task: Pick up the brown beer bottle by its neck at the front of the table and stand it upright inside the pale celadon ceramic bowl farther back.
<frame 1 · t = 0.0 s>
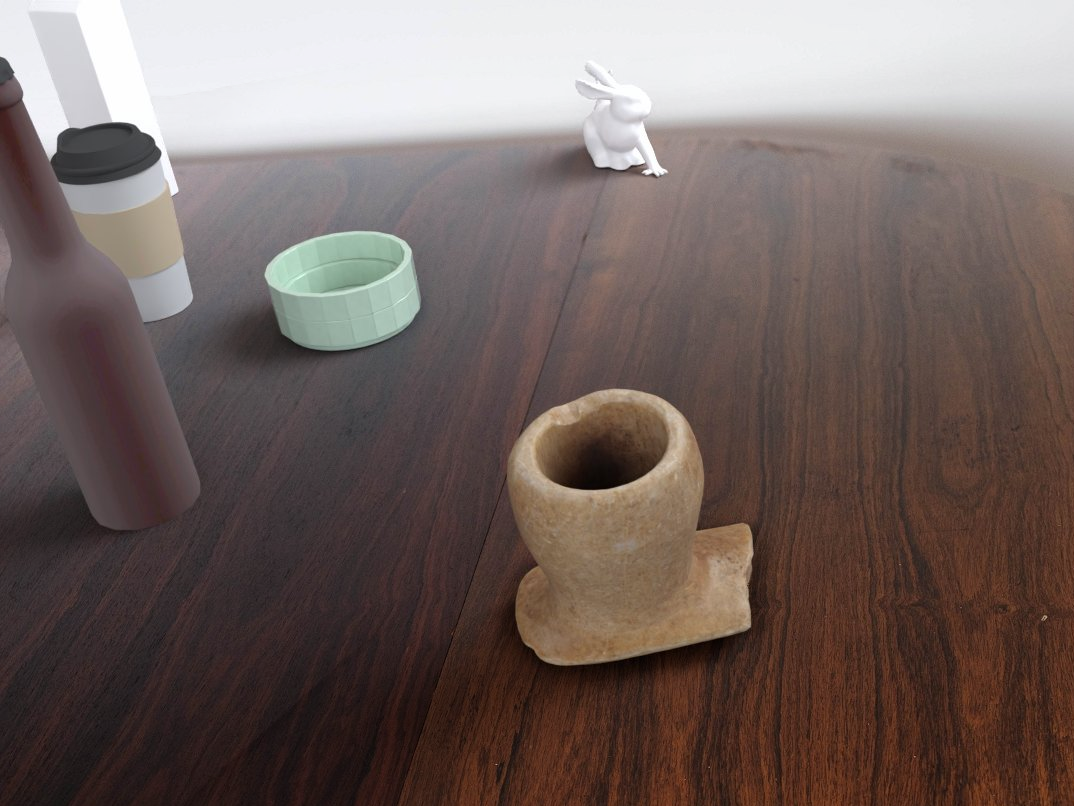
beer bottle: (155, 520, 91), on the table
stone cup: (645, 629, 78), on the table
rabbit figurine: (612, 165, 131), on the table
milk: (140, 202, 135), on the table
coffee cup: (156, 306, 116), on the table
bowl: (351, 318, 111), on the table
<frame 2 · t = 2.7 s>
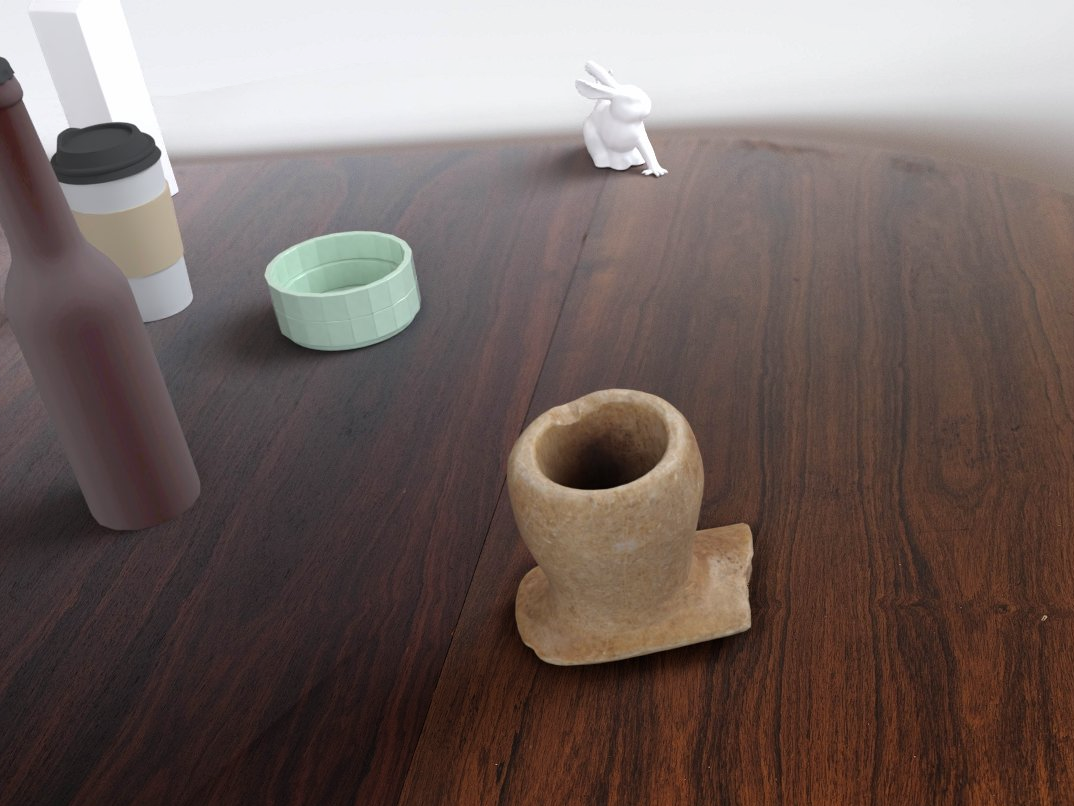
nothing on the table moved.
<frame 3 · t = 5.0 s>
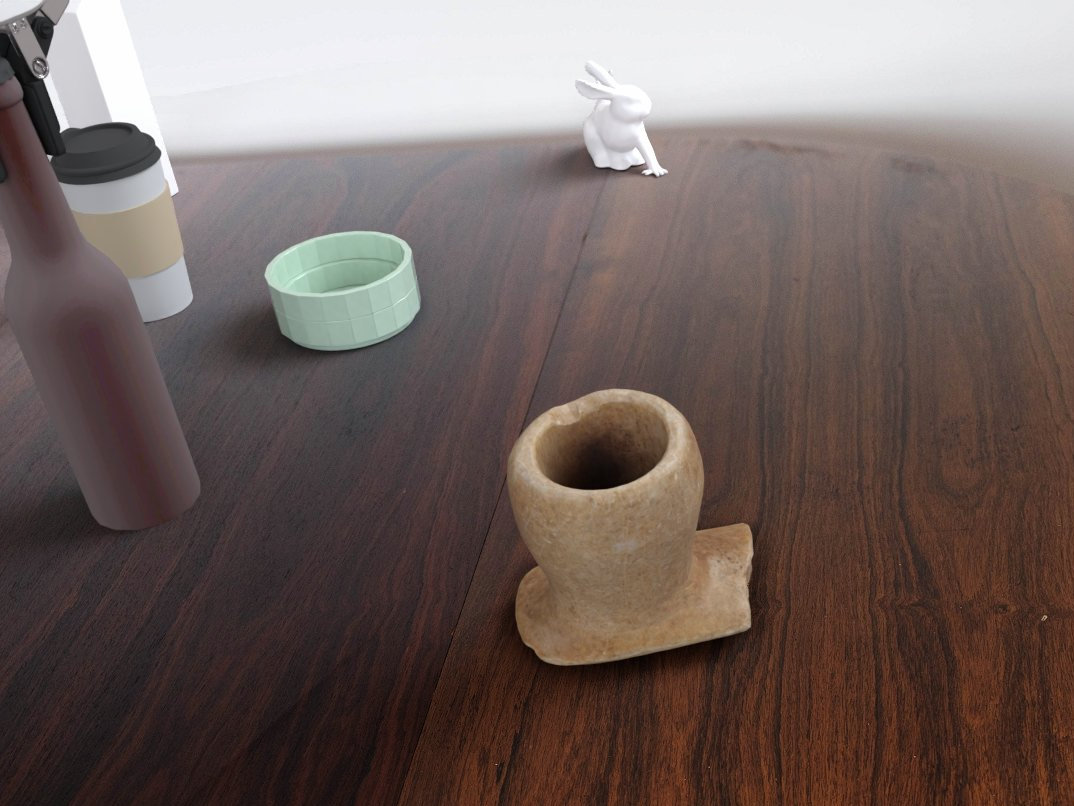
hand: (15, 162, 74), 25 cm above the table, tool pointing down, fingers closed on beer bottle, 3 cm apart
beer bottle: (155, 520, 91), on the table, touching gripper
everything else where it was.
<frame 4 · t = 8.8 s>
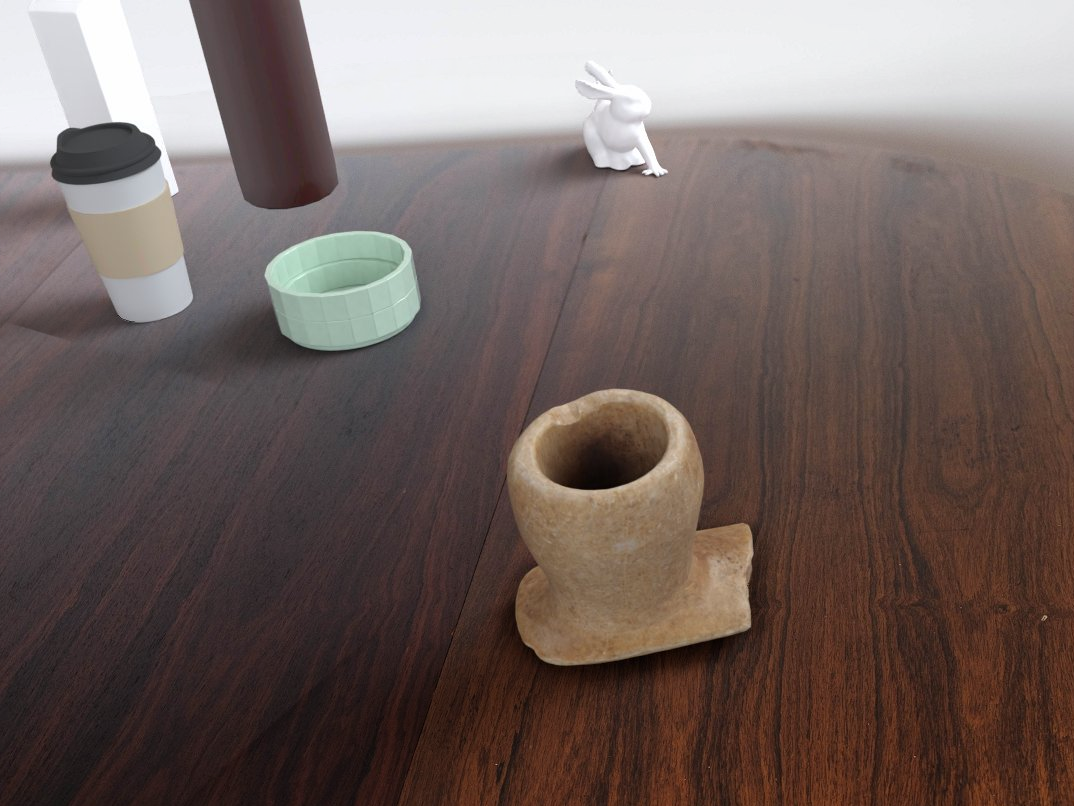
beer bottle: (292, 194, 100), point 12 cm above the table, touching gripper
everything else where it was.
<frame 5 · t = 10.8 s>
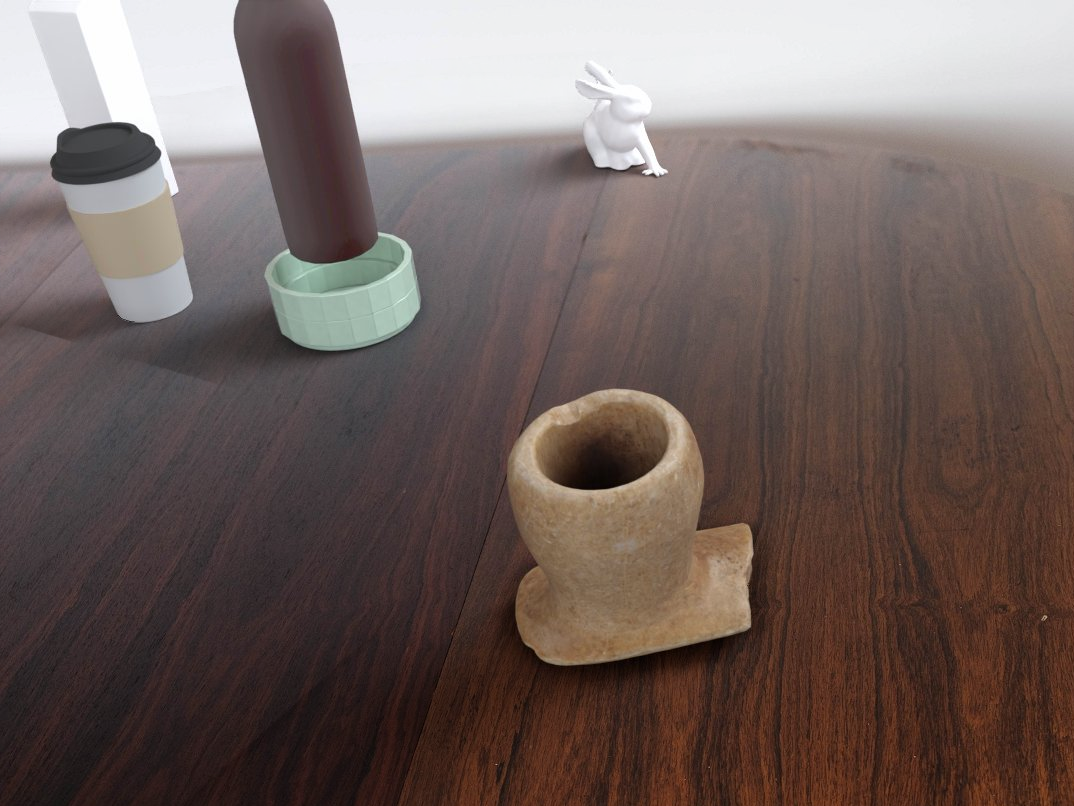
beer bottle: (335, 248, 107), point 6 cm above the table, touching gripper
everything else where it was.
when the fingers open (25 cm above the table, at t = 12.7 s): beer bottle stays where it is, resting on bowl.
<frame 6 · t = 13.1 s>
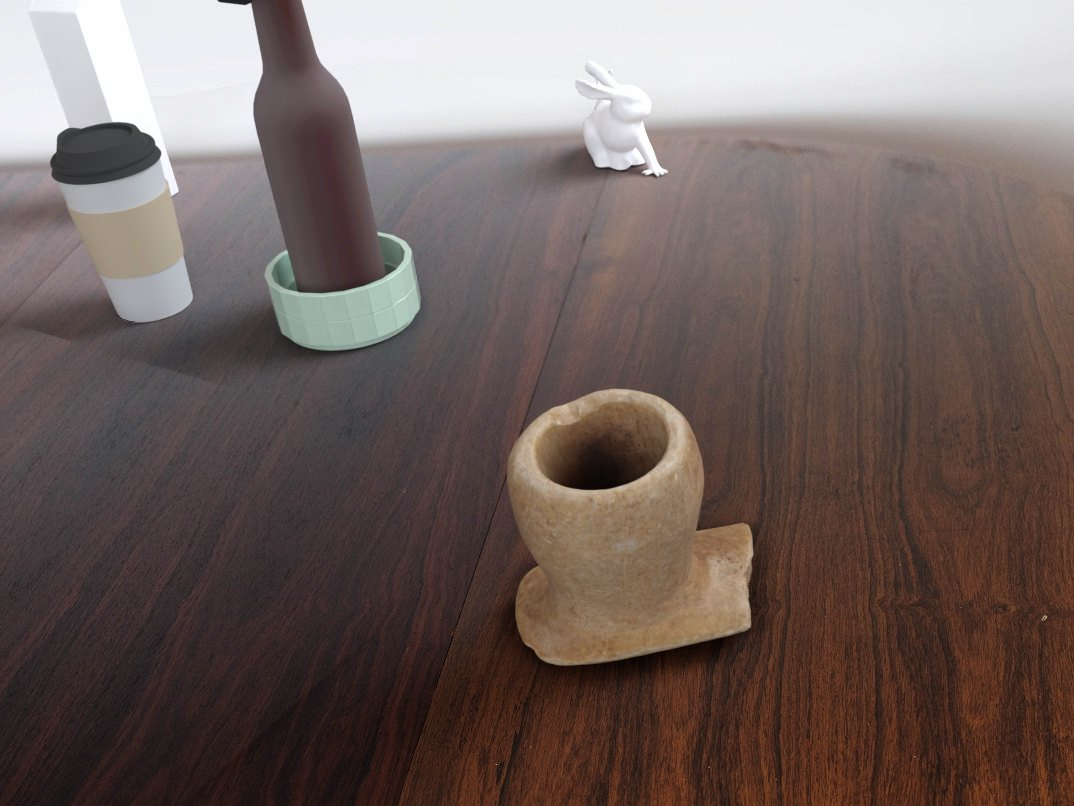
beer bottle: (349, 314, 111), resting on bowl
everything else where it was.
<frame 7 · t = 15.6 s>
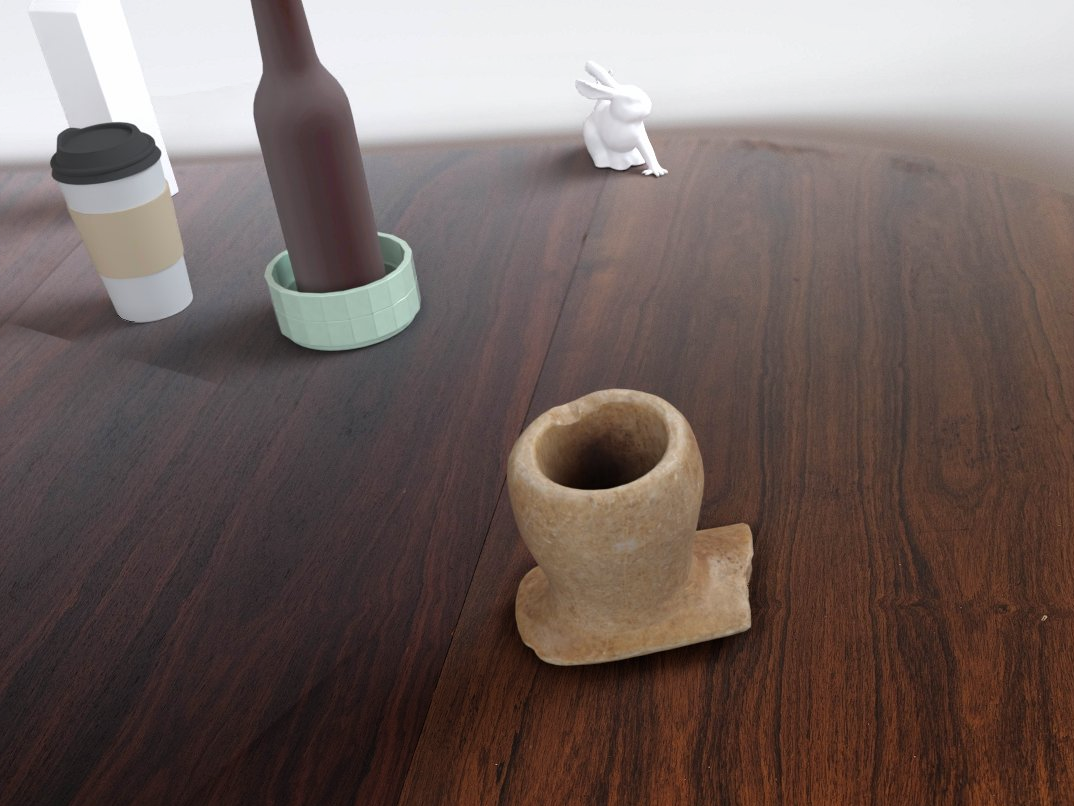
nothing on the table moved.
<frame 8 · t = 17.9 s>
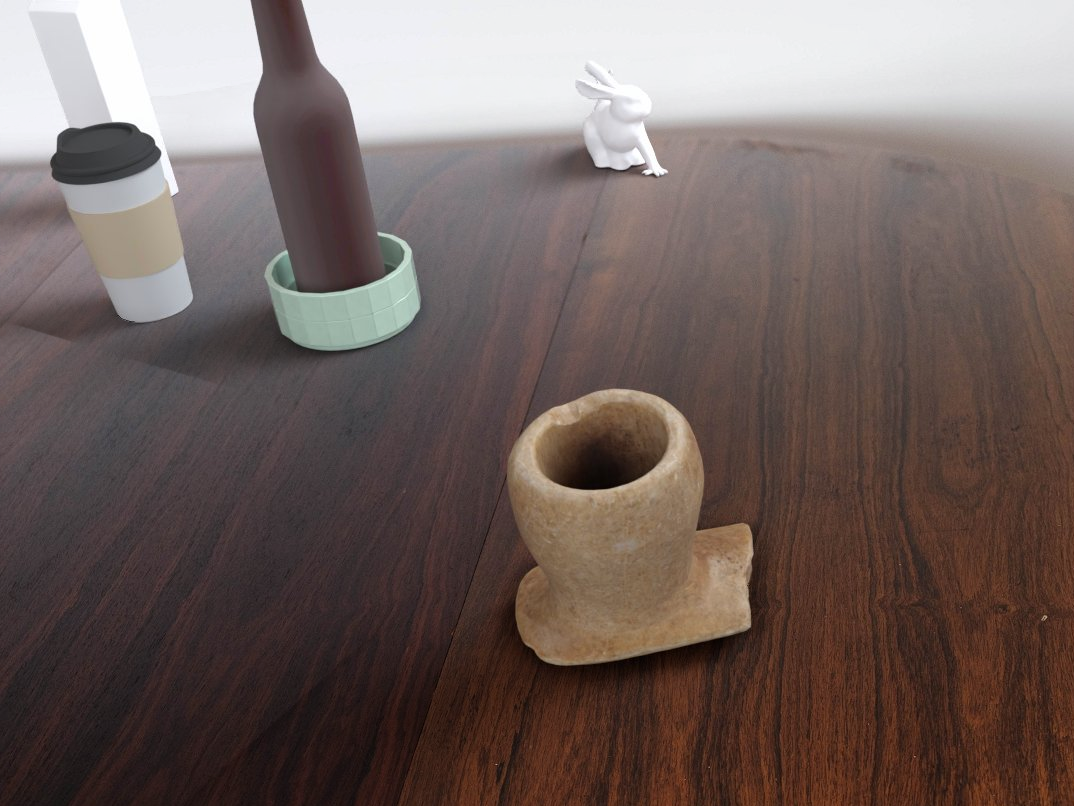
nothing on the table moved.
at the end: beer bottle 0.1 cm off-centre in the bowl, point 0.4 cm above the bowl's base; beer bottle tilted 0°; the gripper is holding nothing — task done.
